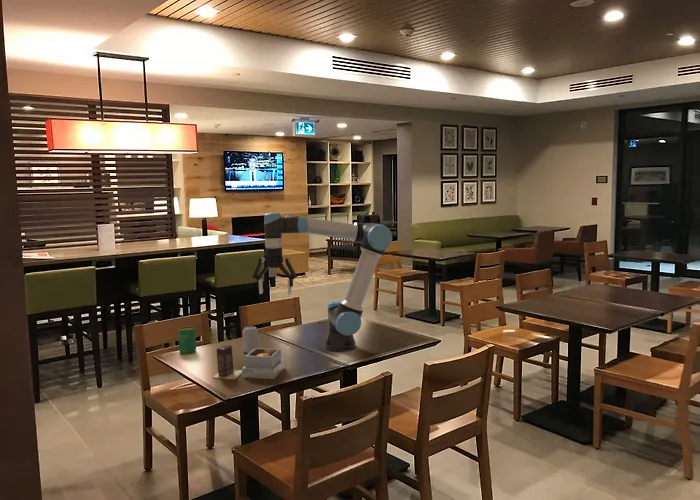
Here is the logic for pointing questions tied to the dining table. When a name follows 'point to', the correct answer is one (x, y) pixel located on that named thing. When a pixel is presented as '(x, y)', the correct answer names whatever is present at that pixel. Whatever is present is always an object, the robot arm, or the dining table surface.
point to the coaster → (231, 376)
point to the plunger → (263, 354)
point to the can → (250, 339)
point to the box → (225, 360)
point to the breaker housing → (263, 364)
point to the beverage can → (187, 340)
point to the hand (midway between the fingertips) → (275, 293)
